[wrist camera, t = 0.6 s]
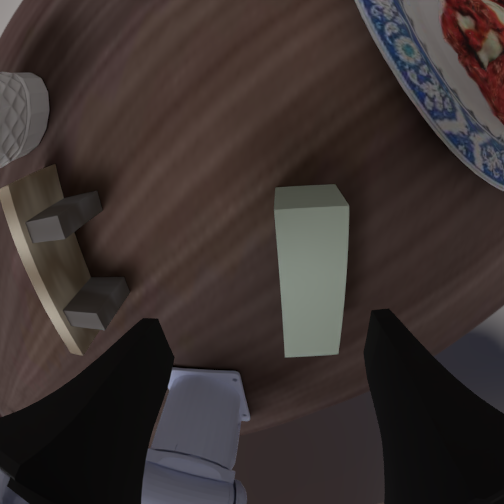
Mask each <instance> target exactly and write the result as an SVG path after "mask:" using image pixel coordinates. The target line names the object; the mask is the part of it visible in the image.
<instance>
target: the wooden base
mask: <svg viewBox="0 0 504 504" xmlns="http://www.w3.org/2000/svg"><path fill="white" fill-rule="evenodd" d="M0 200H1V203H2V207H3V210H4V213H5V216H6V219H7V222H8V225H9V228H10V231H11V234H12V237H13V240H14V242H15V245H16V247H17V250H18V252H19V255H20V257H21V260H22V262H23V265H24V267H25V269H26V271H27V274H28V276H29V278H30V280H31V282H32V284H33V287H34V289H35V291H36V293H37V295H38V297H39V299H40V301H41V303H42V304H43V306H44V308H45V310H46V312H47V314H48V316H49V317H50V319H51V321H52V323H53V324H54V326H55V328H56V330H57V331H58V333H59V335H60V336H61V338H62V340H63V341H64V343H65V344H66V346H67V348H68V349H69V351H70V352H71V353H73V354H78V355H83V356H84V354H85V352H86V351H87V349H88V348H89V346H90V344H91V343H92V341H93V340H94V338H95V337H96V335H97V334H98V332H99V331H100V330H105V329H106V328H107V326H108V325H109V323H110V322H111V320H112V319H113V317H114V315H115V314H116V312H117V311H118V309H119V308H120V306H121V305H122V304H123V302H124V301H125V299H126V298H127V296H128V295H129V293H130V291H129V289H128V286H127V284H126V281H125V278H124V277H91V276H90V273H89V271H88V268H87V266H86V263H85V260H84V258H83V255H82V252H81V250H80V247H79V244H78V241H77V238H76V235H75V231H76V230H77V229H79V228H80V227H81V226H83V225H84V224H85V223H87V222H88V221H89V220H90V219H92V218H93V217H95V216H96V215H97V214H99V213H100V212H101V211H103V210H102V207H101V203H100V199H99V196H98V192H97V191H93V192H88V193H84V194H79V195H75V196H71V197H66V198H64V196H63V193H62V189H61V185H60V181H59V177H58V173H57V169H56V164H54V165H51V166H48V167H45V168H43V169H40V170H38V171H36V172H34V173H32V174H29V175H27V176H25V177H23V178H21V179H19V180H17V181H15V182H13V183H10V184H8V185H7V186H5V187H3V188H1V189H0Z"/></svg>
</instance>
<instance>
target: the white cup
mask: <svg viewBox="0 0 504 504" xmlns="http://www.w3.org/2000/svg"><path fill="white" fill-rule="evenodd" d="M49 111H50V109H49V97H48V90H47V88H46V86H45V84H44V82H43V80H42V78H40V77H38V76H37V75H35V74H33V73H8V72H0V168H1V167H3V166H5V165H6V164H8V163H9V162H11V161H13V160H15V159H17V158H20V157H22V156H24V155H26V154H28V153H29V152H31V151H32V150H33V149H34V148H36V147H37V146H38V145H39V143H40V141H41V139H42V137H43V135H44V133H45V131H46V128H47V122H48V116H49Z"/></svg>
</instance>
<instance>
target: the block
mask: <svg viewBox="0 0 504 504" xmlns="http://www.w3.org/2000/svg"><path fill="white" fill-rule="evenodd" d="M274 215H275V226H276V238H277V250H278V262H279V275H280V289H281V303H282V317H283V333H284V349H285V357H305V356H321V355H335V354H338V352H339V345H340V337H341V328H342V319H343V310H344V299H345V287H346V274H347V258H348V236H349V205H348V203H347V202H346V200H345V198H344V197H343V195H342V194H341V192H340V191H339V189H338V188H337V186H336V185H335V184H328V185H307V186H290V187H275V202H274Z"/></svg>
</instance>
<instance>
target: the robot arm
mask: <svg viewBox="0 0 504 504" xmlns="http://www.w3.org/2000/svg"><path fill="white" fill-rule="evenodd" d="M364 359H365V366H366V373H367V379H368V383H369V387H370V391H371V395H372V399H373V403H374V407H375V411H376V415H377V419H378V424H379V428H380V432H381V438H382V445H383V457H384V475H385V501H384V504H504V414H503V413H502V412H500V411H498V410H497V409H495V408H494V407H493V406H491V405H490V404H488V403H486V402H485V401H484V400H482V399H481V398H480V397H478V396H477V395H476V394H474V393H473V392H472V391H471V390H469V389H468V388H467V387H466V386H465V385H463V384H462V383H461V382H460V381H459V380H457V379H456V378H455V377H454V376H453V375H452V374H451V373H450V372H448V370H446V368H444V367H443V366H442V365H441V364H440V363H439V362H438V361H437V360H436V359H435V358H434V357H433V356H432V355H431V354H430V353H429V352H428V350H427V349H426V348H425V347H424V346H423V345H422V344H421V343H420V342H419V341H418V340H417V339H416V338H415V337H414V336H413V334H412V333H411V332H410V331H409V330H408V329H407V328H406V327H405V326H404V325H403V323H402V322H401V321H400V320H399V319H398V318H397V317H396V316H395V315H394V314H393V313H392V311H391V310H390V309H381V310H372V311H371V317H370V322H369V328H368V333H367V338H366V343H365V348H364ZM173 362H174V356H173V353H172V351H171V349H170V347H169V344H168V342H167V340H166V337H165V335H164V333H163V330H162V328H161V325H160V323H159V320H158V319H151V318H143V319H142V320H140V321H139V322H138V323H137V324H136V325H134V326H133V327H132V328H131V329H130V330H129V331H128V332H127V333H125V334H124V335H123V336H122V337H121V338H120V339H119V340H118V341H117V342H116V343H115V344H113V345H112V346H111V347H110V348H109V349H108V350H107V351H106V352H105V353H103V354H102V355H101V356H100V357H99V358H98V359H97V360H95V361H94V362H93V363H92V364H91V365H89V366H88V367H87V368H86V369H85V370H83V371H82V372H81V373H80V374H79V375H77V376H76V377H75V378H73V379H72V380H71V381H69V382H68V383H66V384H65V385H64V386H62V387H61V388H59V389H58V390H56V391H55V392H53V393H51V394H50V395H48V396H46V397H45V398H43V399H41V400H39V401H38V402H36V403H34V404H32V405H30V406H28V407H26V408H24V409H22V410H19V411H17V412H15V413H12V414H10V415H7V416H4V417H1V418H0V504H247V494H246V490H245V488H244V487H243V485H242V484H241V482H240V481H239V480H234V477H235V471H232V470H231V469H232V468H233V466H234V464H235V460H236V454H237V447H238V440H239V433H240V426H241V421H249V420H250V413H249V409H248V405H247V401H246V397H245V393H244V389H243V385H242V381H241V376H240V373H239V372H237V371H226V370H204V369H189V368H176V367H173ZM167 387H168V388H169V390H170V391H169V394H168V397H167V400H166V403H165V406H164V409H163V412H162V415H161V418H160V421H159V424H158V427H157V430H156V433H155V436H154V439H153V442H152V445H151V449H150V448H148V446H149V441H150V437H151V434H152V430H153V427H154V424H155V422H156V419H157V416H158V413H159V410H160V407H161V405H162V402H163V399H164V396H165V393H166V390H167Z"/></svg>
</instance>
